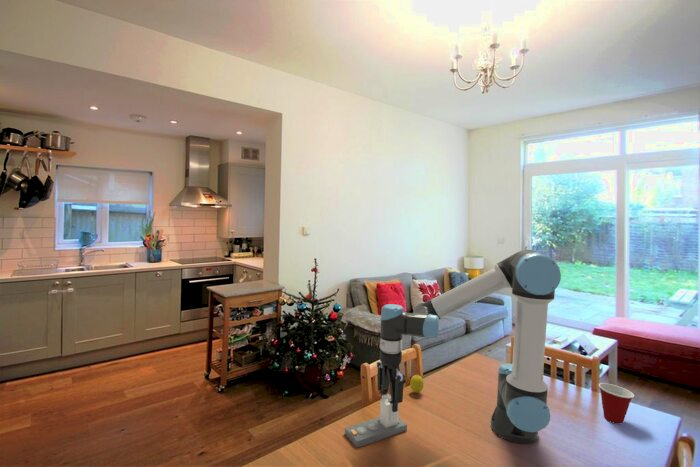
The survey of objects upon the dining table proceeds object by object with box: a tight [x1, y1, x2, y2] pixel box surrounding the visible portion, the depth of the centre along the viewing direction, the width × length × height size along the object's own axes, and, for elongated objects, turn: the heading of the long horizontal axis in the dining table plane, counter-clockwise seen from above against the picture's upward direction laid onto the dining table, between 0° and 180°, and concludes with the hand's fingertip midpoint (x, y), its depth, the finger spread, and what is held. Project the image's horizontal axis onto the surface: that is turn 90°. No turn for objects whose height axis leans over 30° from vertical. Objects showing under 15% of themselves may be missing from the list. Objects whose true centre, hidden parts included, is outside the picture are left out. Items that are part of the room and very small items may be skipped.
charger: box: [379, 396, 400, 429], centre depth 121 cm, size 4×5×10 cm
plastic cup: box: [598, 382, 635, 424], centre depth 132 cm, size 11×11×12 cm
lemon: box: [409, 374, 424, 394], centre depth 148 cm, size 6×6×8 cm
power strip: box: [344, 416, 408, 448], centre depth 119 cm, size 8×20×4 cm, turn 119°
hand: (389, 415), depth 121 cm, fingers closed on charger, 4 cm apart
